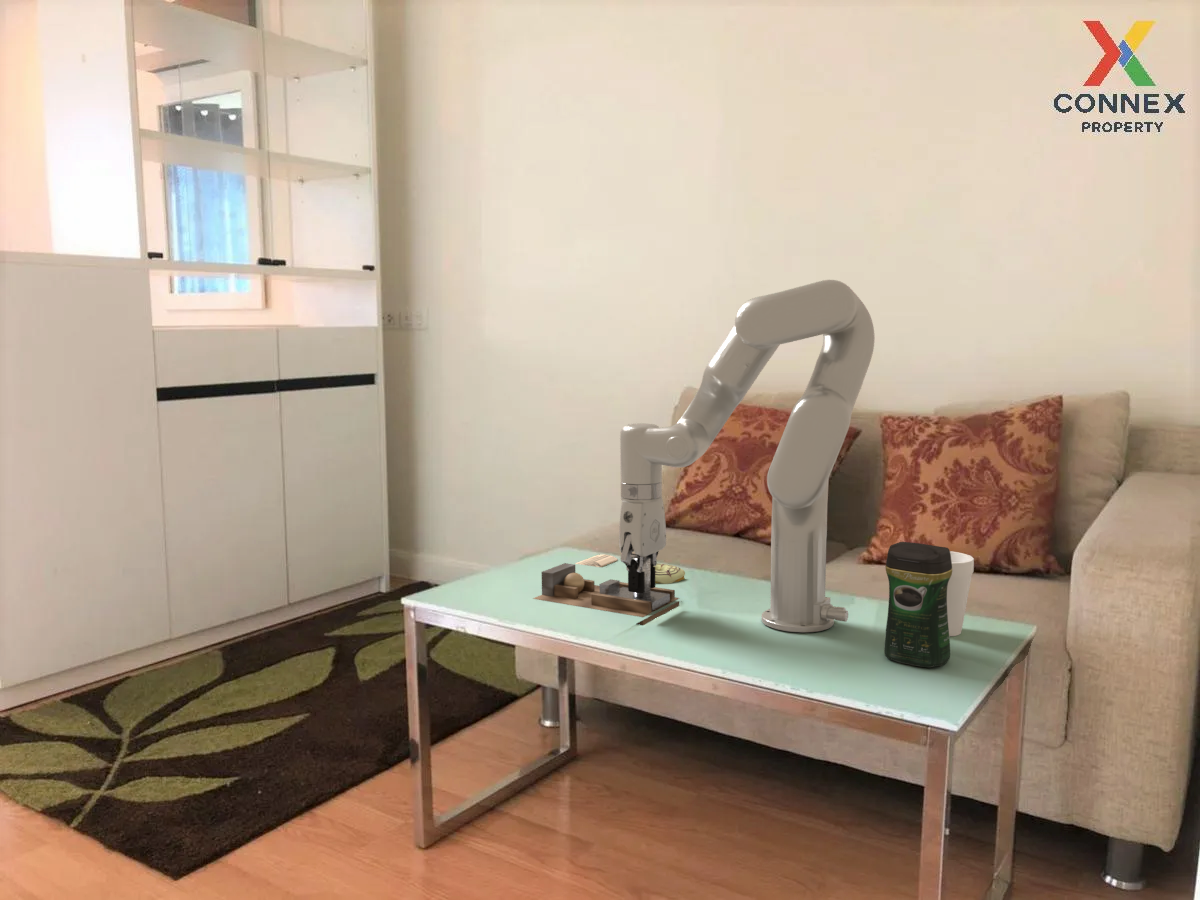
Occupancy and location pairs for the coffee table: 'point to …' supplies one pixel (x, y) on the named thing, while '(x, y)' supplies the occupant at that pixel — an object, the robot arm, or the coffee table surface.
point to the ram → (614, 589)
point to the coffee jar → (918, 604)
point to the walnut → (574, 581)
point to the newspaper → (598, 560)
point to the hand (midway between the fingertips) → (641, 588)
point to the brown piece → (597, 595)
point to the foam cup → (958, 590)
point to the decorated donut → (668, 573)
